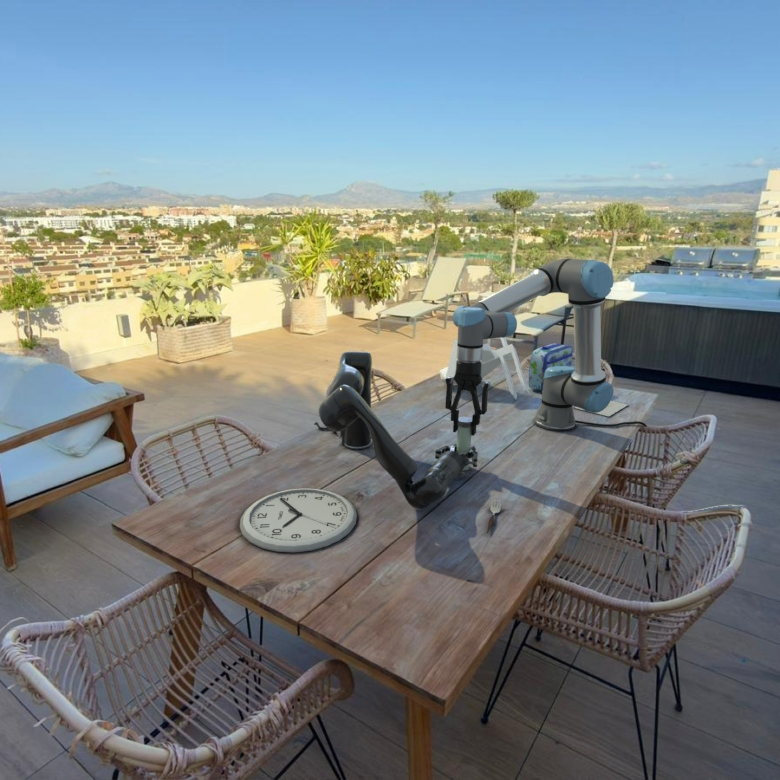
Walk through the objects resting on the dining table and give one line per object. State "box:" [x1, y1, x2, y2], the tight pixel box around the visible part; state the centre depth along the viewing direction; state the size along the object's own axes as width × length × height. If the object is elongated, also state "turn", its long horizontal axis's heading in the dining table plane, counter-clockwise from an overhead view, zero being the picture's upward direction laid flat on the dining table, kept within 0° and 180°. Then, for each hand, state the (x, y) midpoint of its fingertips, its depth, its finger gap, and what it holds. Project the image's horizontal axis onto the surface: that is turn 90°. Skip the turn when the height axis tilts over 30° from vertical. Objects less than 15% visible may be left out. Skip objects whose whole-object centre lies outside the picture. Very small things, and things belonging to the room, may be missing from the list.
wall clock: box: [239, 487, 358, 553], centre depth 136 cm, size 30×2×30 cm
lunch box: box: [528, 343, 574, 392], centre depth 249 cm, size 26×11×21 cm, turn 134°
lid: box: [456, 416, 472, 428], centre depth 162 cm, size 5×5×2 cm
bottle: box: [456, 426, 472, 472], centre depth 164 cm, size 4×4×16 cm
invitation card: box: [573, 400, 629, 418], centre depth 226 cm, size 21×1×15 cm
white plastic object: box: [438, 337, 531, 400], centre depth 245 cm, size 37×45×31 cm
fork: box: [486, 498, 503, 534], centre depth 137 cm, size 3×16×2 cm, turn 160°
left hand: (465, 447), depth 167 cm, fingers closed on bottle, 4 cm apart
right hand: (464, 432), depth 163 cm, fingers closed on lid, 5 cm apart
